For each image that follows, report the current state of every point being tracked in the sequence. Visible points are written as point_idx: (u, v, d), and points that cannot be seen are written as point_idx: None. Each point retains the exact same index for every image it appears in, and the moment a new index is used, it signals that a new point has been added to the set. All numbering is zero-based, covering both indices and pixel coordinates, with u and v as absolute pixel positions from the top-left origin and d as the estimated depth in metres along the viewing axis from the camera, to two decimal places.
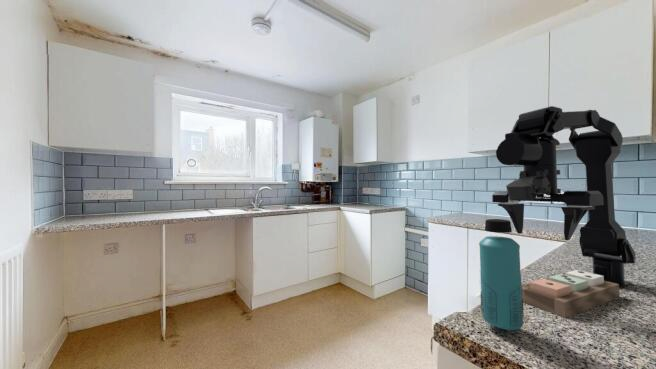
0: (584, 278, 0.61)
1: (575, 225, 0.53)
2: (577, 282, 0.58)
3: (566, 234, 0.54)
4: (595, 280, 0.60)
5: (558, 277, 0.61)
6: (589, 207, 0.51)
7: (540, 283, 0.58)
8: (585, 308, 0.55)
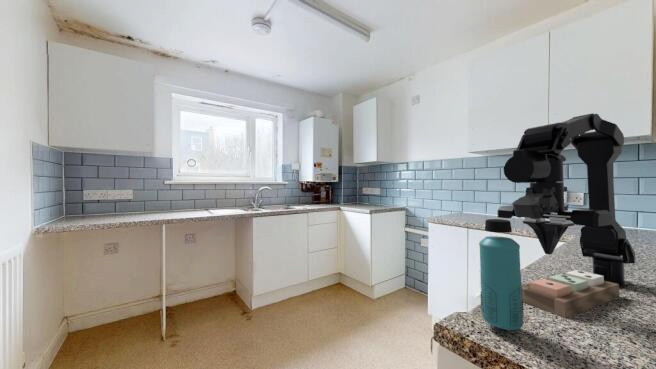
0: (584, 278, 0.61)
1: (557, 240, 0.57)
2: (577, 282, 0.58)
3: (548, 249, 0.57)
4: (595, 280, 0.60)
5: (558, 277, 0.61)
6: (569, 224, 0.55)
7: (540, 283, 0.58)
8: (585, 308, 0.55)
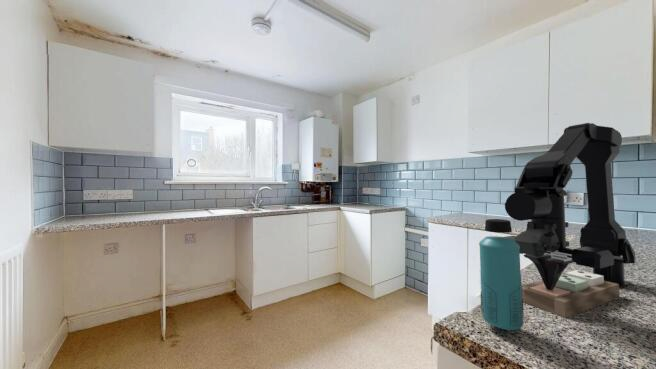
0: (584, 278, 0.61)
1: (558, 276, 0.57)
2: (577, 282, 0.58)
3: (549, 284, 0.57)
4: (595, 280, 0.60)
5: None
6: (570, 261, 0.54)
7: (540, 289, 0.58)
8: (585, 308, 0.55)
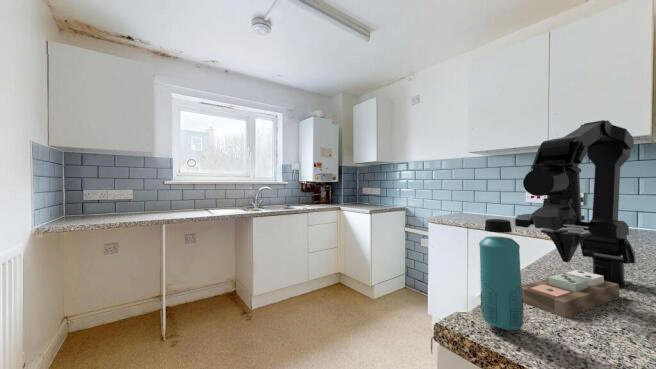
0: (584, 278, 0.61)
1: (574, 249, 0.59)
2: (577, 282, 0.58)
3: (566, 257, 0.59)
4: (595, 280, 0.60)
5: (558, 277, 0.61)
6: (586, 233, 0.57)
7: (541, 289, 0.58)
8: (585, 308, 0.55)
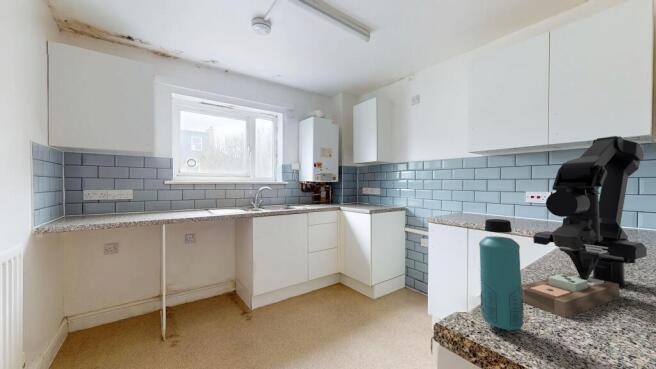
0: None
1: (592, 267, 0.62)
2: (577, 282, 0.58)
3: (584, 275, 0.62)
4: (595, 285, 0.60)
5: (558, 277, 0.61)
6: (605, 253, 0.60)
7: (541, 289, 0.58)
8: (585, 308, 0.55)
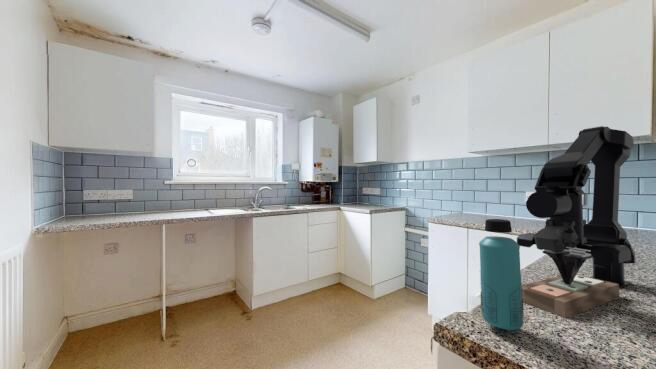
0: (584, 283, 0.61)
1: (576, 271, 0.59)
2: (577, 287, 0.58)
3: (568, 279, 0.59)
4: (595, 285, 0.60)
5: (558, 282, 0.61)
6: (588, 256, 0.57)
7: (541, 289, 0.58)
8: (585, 308, 0.55)
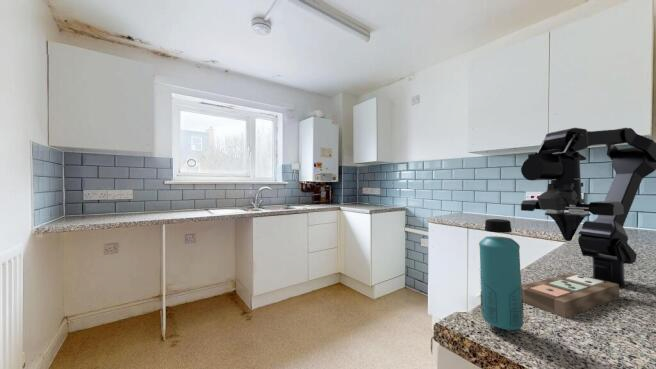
0: (584, 283, 0.61)
1: (575, 229, 0.66)
2: (577, 288, 0.58)
3: (568, 236, 0.66)
4: (595, 285, 0.60)
5: (558, 283, 0.61)
6: (586, 214, 0.64)
7: (541, 289, 0.58)
8: (585, 308, 0.55)
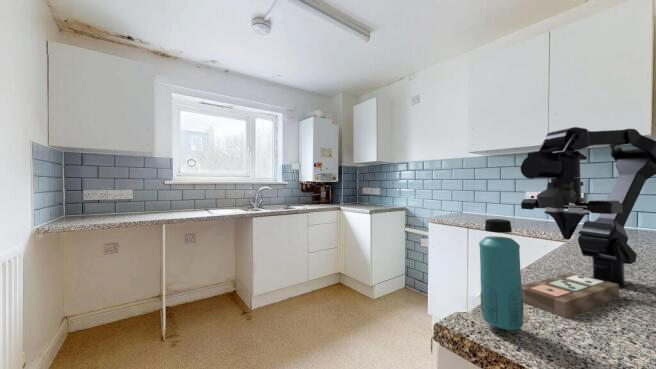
0: (584, 283, 0.61)
1: (574, 227, 0.67)
2: (577, 288, 0.58)
3: (567, 234, 0.67)
4: (595, 285, 0.60)
5: (558, 283, 0.61)
6: (585, 213, 0.64)
7: (541, 289, 0.58)
8: (585, 308, 0.55)
